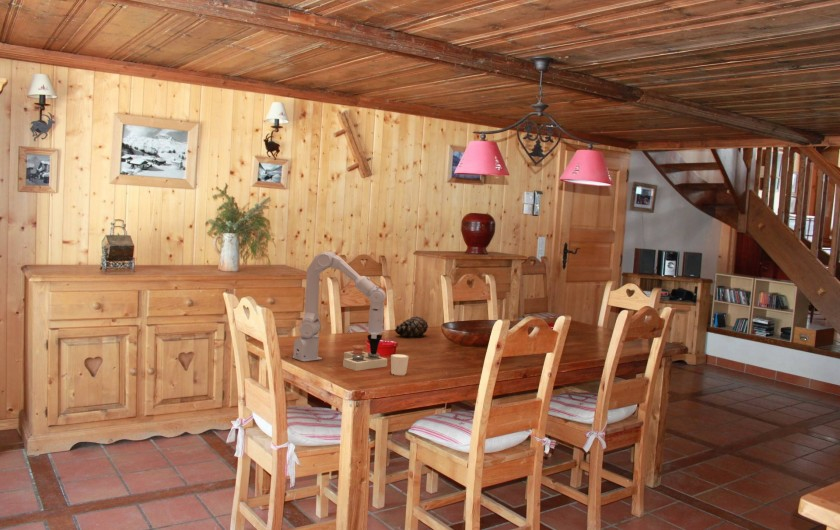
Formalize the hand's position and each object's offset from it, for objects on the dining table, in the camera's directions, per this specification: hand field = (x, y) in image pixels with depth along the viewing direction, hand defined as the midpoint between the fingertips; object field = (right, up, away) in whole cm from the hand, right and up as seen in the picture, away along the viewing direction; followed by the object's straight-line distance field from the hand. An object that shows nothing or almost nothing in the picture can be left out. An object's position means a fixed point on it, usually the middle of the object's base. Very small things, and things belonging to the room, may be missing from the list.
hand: (373, 353), depth 284 cm
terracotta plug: (-7, -2, +7) cm, 10 cm away
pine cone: (+14, -1, +69) cm, 70 cm away
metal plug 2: (0, -5, 0) cm, 5 cm away
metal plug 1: (-6, -5, -5) cm, 9 cm away
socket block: (-7, -4, +1) cm, 8 cm away
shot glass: (+10, -7, -10) cm, 16 cm away
